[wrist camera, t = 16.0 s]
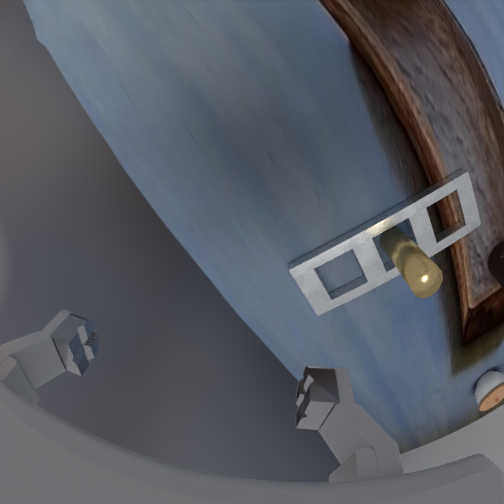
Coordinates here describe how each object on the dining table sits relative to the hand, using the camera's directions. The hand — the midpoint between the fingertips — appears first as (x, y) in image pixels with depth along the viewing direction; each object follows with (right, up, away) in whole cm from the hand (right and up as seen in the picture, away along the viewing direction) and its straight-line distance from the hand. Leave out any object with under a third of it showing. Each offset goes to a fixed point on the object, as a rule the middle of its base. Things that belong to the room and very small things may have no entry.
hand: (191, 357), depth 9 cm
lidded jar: (+65, -30, +39) cm, 82 cm away
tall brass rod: (+22, +6, +27) cm, 36 cm away
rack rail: (+22, +5, +27) cm, 36 cm away
